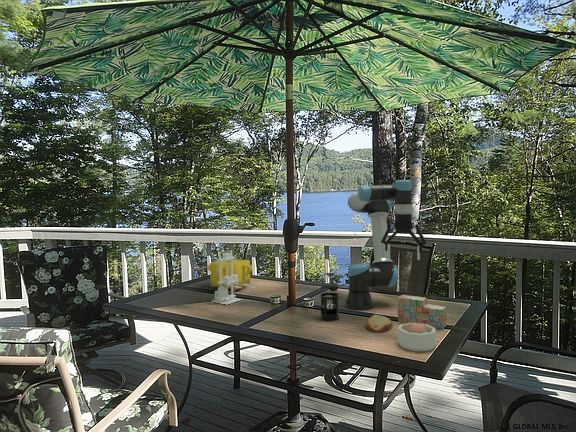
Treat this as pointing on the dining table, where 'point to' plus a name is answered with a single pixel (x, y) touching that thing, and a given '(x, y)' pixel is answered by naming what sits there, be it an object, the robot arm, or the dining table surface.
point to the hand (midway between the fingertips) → (403, 259)
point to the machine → (227, 282)
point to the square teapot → (239, 268)
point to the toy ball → (417, 328)
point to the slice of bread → (379, 324)
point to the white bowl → (416, 338)
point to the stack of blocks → (420, 312)
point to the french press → (329, 314)
